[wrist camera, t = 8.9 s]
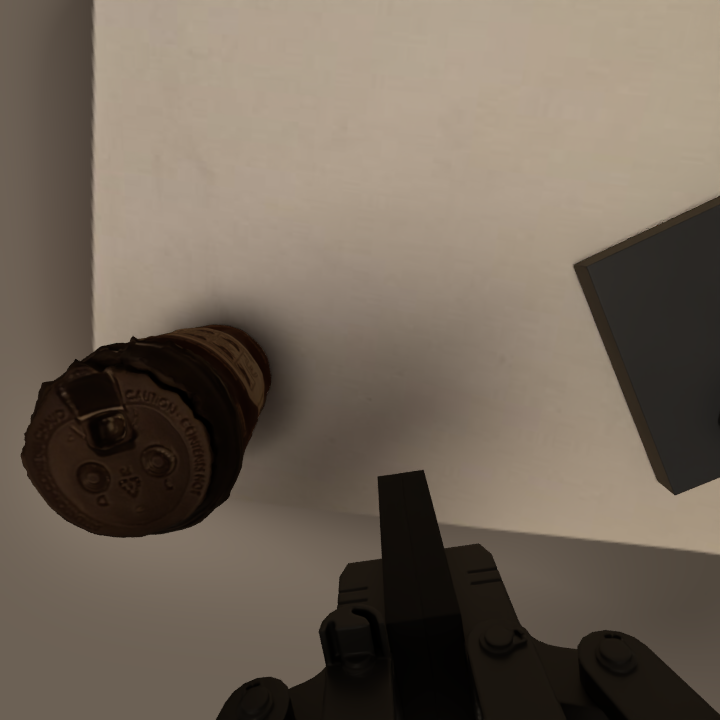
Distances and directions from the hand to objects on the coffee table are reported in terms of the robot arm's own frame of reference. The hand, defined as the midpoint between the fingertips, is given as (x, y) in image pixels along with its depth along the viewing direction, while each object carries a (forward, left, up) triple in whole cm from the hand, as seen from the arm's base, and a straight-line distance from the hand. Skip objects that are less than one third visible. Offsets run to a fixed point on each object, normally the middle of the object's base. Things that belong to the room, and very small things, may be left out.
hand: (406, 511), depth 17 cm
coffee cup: (-10, +1, -15) cm, 19 cm away
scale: (+20, +3, -15) cm, 25 cm away
